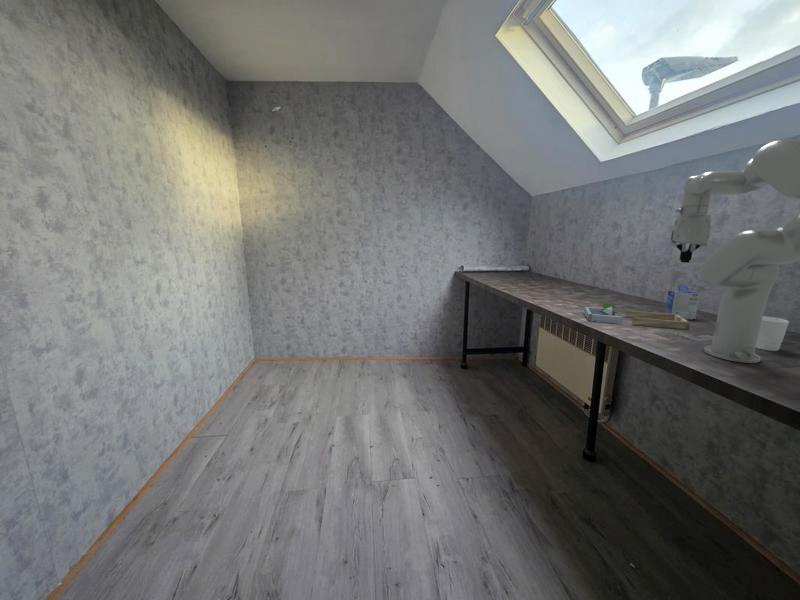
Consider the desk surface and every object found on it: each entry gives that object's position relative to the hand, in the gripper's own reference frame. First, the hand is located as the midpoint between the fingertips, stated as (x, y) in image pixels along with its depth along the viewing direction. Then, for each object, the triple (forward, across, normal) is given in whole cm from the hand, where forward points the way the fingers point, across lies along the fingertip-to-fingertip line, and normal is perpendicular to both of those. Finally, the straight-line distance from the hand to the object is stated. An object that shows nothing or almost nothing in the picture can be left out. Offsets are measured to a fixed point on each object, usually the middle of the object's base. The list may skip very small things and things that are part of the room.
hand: (684, 262), depth 121 cm
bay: (+27, -22, +12) cm, 37 cm away
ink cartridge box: (+27, +10, +26) cm, 39 cm away
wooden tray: (+27, -3, +12) cm, 30 cm away
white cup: (+27, +22, -10) cm, 36 cm away
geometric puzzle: (+27, -20, +12) cm, 36 cm away
